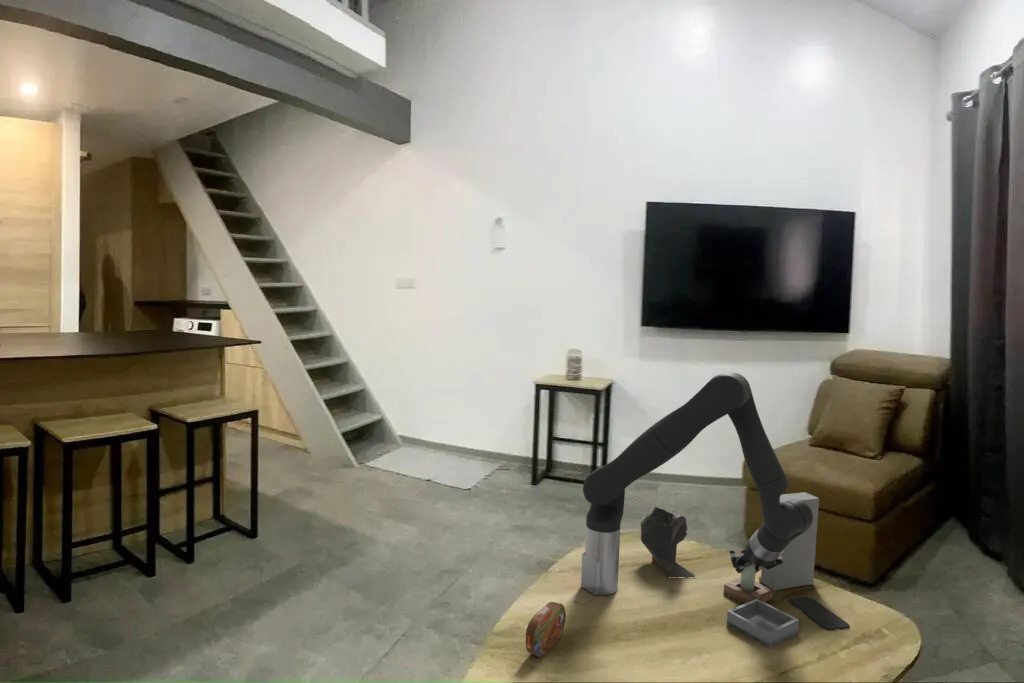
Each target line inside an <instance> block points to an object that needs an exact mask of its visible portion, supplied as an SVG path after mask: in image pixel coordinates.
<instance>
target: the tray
mask: <svg viewBox="0 0 1024 683" xmlns="http://www.w3.org/2000/svg"><path fill="white" fill-rule="evenodd" d="M726 612H727V613H726V625H727V626H729V627H730V628H732V629H734V630H736V631H738V632H739V633H741V634H743V635H744V636H746V637H748V638H750V639H752V640H753V641H755V642H757V643H759V644H760V645H763V646H764V647H766V648H768V649H771V648H772V647H775V646H777V645H778V644H781V643H782V642H785V641H787V640H788V639H790V638H792V637H794V636H797V635H798V634H799V628H800V626H799V625H800V619H798V618H796V617H794V616H793V615H790V614H788V613H786V612H784V611H783V610H781V609H779V608H776V607H774V606H772V605H771V604H768V603H766V602H762V601H760V600H758V599H754V600H752V601H750V602H747V603H745V604H744V603H742V604H741V605H738V606H736V607H733V608H731V609H728V610H727V611H726Z"/></svg>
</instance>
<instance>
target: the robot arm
mask: <svg viewBox="0 0 1024 683" xmlns="http://www.w3.org/2000/svg"><path fill="white" fill-rule="evenodd" d="M726 415H728V417H729V419H730V421H731V422H732V424H733V426H734V428H735V431H736V433H737V436H738V440H739V443H740V447H741V451H742V455H743V457H744V458H743V459H744V461H745V463H746V467H747V469H748V472H749V474H750V476H751V478H752V480H753V482H754V484H755V487H756V488H757V491H758V496H759V501H760V506H761V511H762V512H761V513H762V518H763V523H761V524H762V525H761V526H760V527H759V528H758V529H756V530H755V532H754V533H753V534H752V536H751V537H750V538H749V539H748V540H747V542H746V544H745V547H744V549H742V550H741V551H740V552H738V553H737V552H735V550H730V551H729V556H730V560H731V565H732V567H733V568H734V569H735V572H737V573H738V574H741V572H742V571H743V570H744V568H745V567H747V568H749V567H750V566H752V565H755V564H756V571H755V575H756V574H757V573H759V572H761V571H762V569H763V568H766V569H771V568H773V567H775V566H777V565H780V564H782V563H783V560H782V556H781V554H782V553H783V551H784V549H785V548H786V547H787V546H788V544H789V543H790V542H791V541H792V540H793V539H795V538H796V537H798V536H799V535H801V534H802V533H803V532H805V531H806V530H807V529H809V528H810V526H811V525H812V522H813V513H812V510H811V508H810V507H809V505H808V504H807V503H805V502H804V501H802V500H799V499H791V500H788V501H786V502H784V503H782V504H780V496H781V495H783V493H785V492H786V491H788V489H789V487H790V482H789V479H788V477H787V476H786V473H785V471H784V469H783V467H782V465H781V462H780V460H779V459H778V457H777V454H776V452H775V450H774V449H773V446H772V443H771V442H770V440H769V436H767V433H766V431H765V428H764V426H763V423H762V420H761V418H760V415H759V412H758V409H757V407H756V402H755V399H754V396H753V392H752V389H751V385H750V383H749V381H748V380H747V378H746V377H745V376H743V375H742V374H741V373H738V372H733V371H729V372H723V373H719V374H717V375H714V376H713V377H711V379H710V380H708V382H706V384H705V385H704V386H703V387H702V388H701V389H700V390H699V391H698V392H697V393H695V394H694V395H693V396H692V397H691V398H690V399H689V400H688V401H687V402H686V403H684V404H683V405H681V406H680V407H678V408H676V409H674V410H672V412H670V413H668V414H667V415H665V416H663V417H662V418H661V419H659V420H658V421H657V422H655V423H654V424H652V425H651V426H650V427H648V429H646V430H645V431H644V432H642V434H640V435H639V436H638V437H636V438H635V440H633V441H632V443H630V444H629V445H628V446H627V447H626V448H625V449H624V450H623V451H622V452H621V453H620V454H619V455H618V456H617V457H615V458H614V459H613V460H611V461H610V462H608V463H607V464H605V465H602V466H600V467H598V468H596V469H595V470H594V471H592V472H591V473H590V474H588V475H587V476H586V478H585V479H584V481H583V486H582V493H583V496H584V498H585V500H586V501H587V502H589V504H590V507H589V510H588V512H587V513H586V517H585V519H586V520H585V542H584V543H585V544H584V546H585V547H584V552H582V554H581V572H580V573H581V574H580V575H581V578H580V581H581V582H580V587H581V588H583V589H584V590H586V591H588V592H590V593H591V594H592V595H594V596H599V595H600V596H604V595H605V596H607V595H613V594H614V593H616V592H617V591H618V589H619V568H620V567H619V565H620V544H621V523H622V519H623V516H624V510H625V509H624V508H625V499H626V498H625V497H626V496H625V495H626V494H625V493H626V488H628V486H629V487H630V485H631V484H633V483H634V482H636V481H637V480H638V479H640V478H642V477H644V476H646V475H647V474H650V473H651V472H652V471H654V470H656V469H658V468H660V467H661V466H663V465H664V464H665V463H667V462H669V461H670V460H671V459H673V458H675V456H678V454H680V453H681V452H682V451H683V450H684V449H685V448H687V447H688V446H689V444H690V443H692V442H693V440H695V438H696V437H697V436H698V435H699V434H700V433H701V432H702V431H703V430H705V428H707V427H708V426H710V425H711V424H713V423H714V422H716V421H718V420H720V419H721V418H723V417H724V416H726Z"/></svg>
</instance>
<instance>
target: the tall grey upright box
mask: <svg viewBox="0 0 1024 683" xmlns="http://www.w3.org/2000/svg"><path fill="white" fill-rule="evenodd" d="M791 499H799V500H802V501H804V502H805V503H807V504H808V505H809V507H810V508H811V510H812V513H813V522H812V525H811V526H810V528H809V529H807V530H806V531H805V532H803V533H802V534H801V535H799V536H798V537H796V538H795V539H793V540H792V541H791V542H790V543H789V544H788V546H787V547H786V548H785V549H784V551H783V553H782V554H781V556H782V560H783V563H782V564H780V565H777V566H775V567H773V568H771V569H766V568H763V569H762V570H760V573H761V574H760V576H759V577H758V581H759V582H760V584H762V585H765V587H767V588H770V589H772V592H773V591H775V592H776V591H778V590H784V589H790V588H796V587H802V586H809V585H810V586H811V585H814V584H815V580H814V574H815V562H816V561H815V560H816V550H817V549H816V546H817V534H818V521H819V508H820V507H819V506H820V498H819V497H818V496H815V495H813V494H810V493H808V492H805V491H803V492H796V493H795V492H793V493H785V494H783V493H782V494H781V496H780V504H782V503H784V502H786V501H788V500H791Z"/></svg>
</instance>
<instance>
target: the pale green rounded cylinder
mask: <svg viewBox="0 0 1024 683" xmlns="http://www.w3.org/2000/svg"><path fill="white" fill-rule="evenodd" d="M755 571H756V564H755V565H752V566H750V567H749V568H747V567H745V568H744V570H743V571H742V572H741V573H740V574H741V575H740V578H741V583H740V588H741V589H743V590H745V591H747V592H749V593H751V592H754V584H755V582H756V581H755V580H756V574H755Z"/></svg>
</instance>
